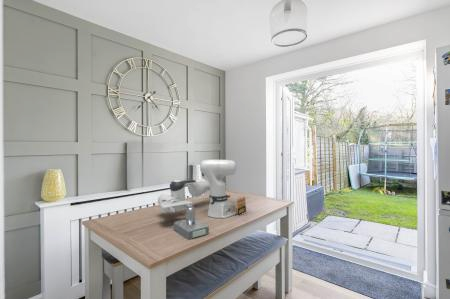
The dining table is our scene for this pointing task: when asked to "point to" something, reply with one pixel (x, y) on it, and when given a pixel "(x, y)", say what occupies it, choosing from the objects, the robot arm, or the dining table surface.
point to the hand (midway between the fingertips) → (182, 209)
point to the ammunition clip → (240, 206)
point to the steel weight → (190, 215)
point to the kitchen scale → (191, 229)
